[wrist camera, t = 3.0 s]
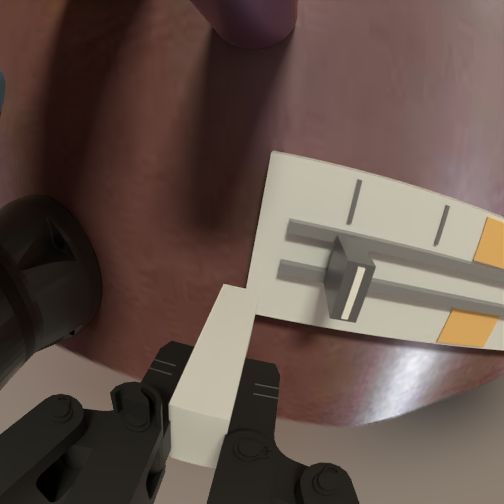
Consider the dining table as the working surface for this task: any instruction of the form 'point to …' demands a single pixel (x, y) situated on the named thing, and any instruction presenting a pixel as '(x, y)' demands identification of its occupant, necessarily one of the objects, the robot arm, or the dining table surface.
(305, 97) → the dining table surface
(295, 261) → the console
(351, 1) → the dining table surface
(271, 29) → the beverage can
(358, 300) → the fader
